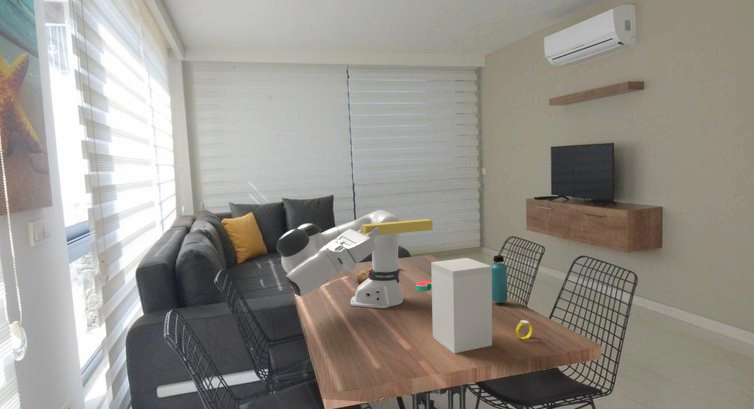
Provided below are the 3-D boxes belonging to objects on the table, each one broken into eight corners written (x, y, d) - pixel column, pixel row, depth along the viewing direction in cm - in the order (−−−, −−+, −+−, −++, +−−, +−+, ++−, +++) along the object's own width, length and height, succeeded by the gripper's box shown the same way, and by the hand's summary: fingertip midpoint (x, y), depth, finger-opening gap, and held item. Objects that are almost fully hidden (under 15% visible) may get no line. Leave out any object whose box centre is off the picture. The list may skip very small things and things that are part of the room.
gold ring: (528, 336, 151) (529, 319, 151) (533, 339, 148) (535, 321, 148) (513, 338, 149) (514, 320, 148) (519, 341, 146) (520, 323, 146)
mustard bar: (365, 236, 131) (365, 226, 130) (361, 234, 134) (361, 224, 134) (432, 229, 139) (432, 220, 138) (427, 228, 142) (427, 219, 142)
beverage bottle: (508, 306, 181) (508, 257, 179) (491, 305, 182) (490, 257, 180) (506, 301, 187) (506, 254, 185) (490, 300, 189) (490, 254, 187)
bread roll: (359, 286, 229) (352, 273, 228) (377, 277, 230) (370, 263, 229) (361, 292, 219) (353, 278, 218) (379, 282, 220) (372, 268, 219)
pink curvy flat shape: (445, 280, 224) (445, 275, 224) (460, 288, 209) (460, 283, 209) (408, 284, 219) (408, 280, 218) (421, 293, 203) (420, 288, 203)
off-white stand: (454, 353, 139) (453, 271, 136) (432, 337, 152) (431, 262, 149) (492, 345, 144) (491, 266, 141) (468, 330, 157) (467, 257, 154)
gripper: (333, 256, 140) (368, 231, 144) (354, 270, 121) (393, 241, 125) (323, 240, 139) (358, 215, 142) (342, 252, 120) (382, 223, 123)
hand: (375, 227), depth 134 cm, fingers closed on mustard bar, 3 cm apart
